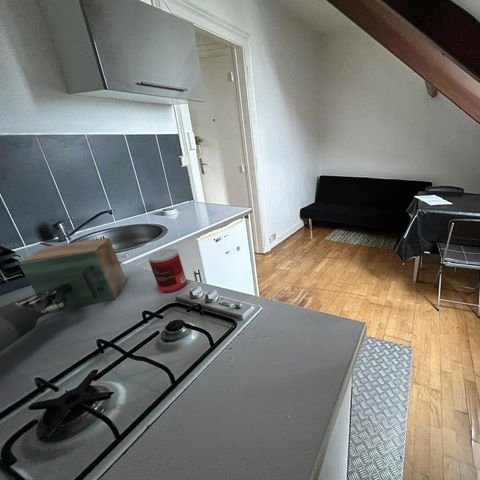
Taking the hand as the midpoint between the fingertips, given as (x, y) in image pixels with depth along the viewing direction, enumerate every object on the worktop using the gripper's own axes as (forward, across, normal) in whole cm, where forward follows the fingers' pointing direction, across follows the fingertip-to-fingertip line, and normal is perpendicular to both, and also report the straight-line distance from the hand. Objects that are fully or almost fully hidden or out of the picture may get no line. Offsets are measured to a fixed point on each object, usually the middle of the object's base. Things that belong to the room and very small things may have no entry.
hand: (68, 286), depth 70 cm
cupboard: (+6, +1, +7) cm, 9 cm away
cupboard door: (-1, -1, +7) cm, 7 cm away
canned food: (+8, -22, +7) cm, 25 cm away
